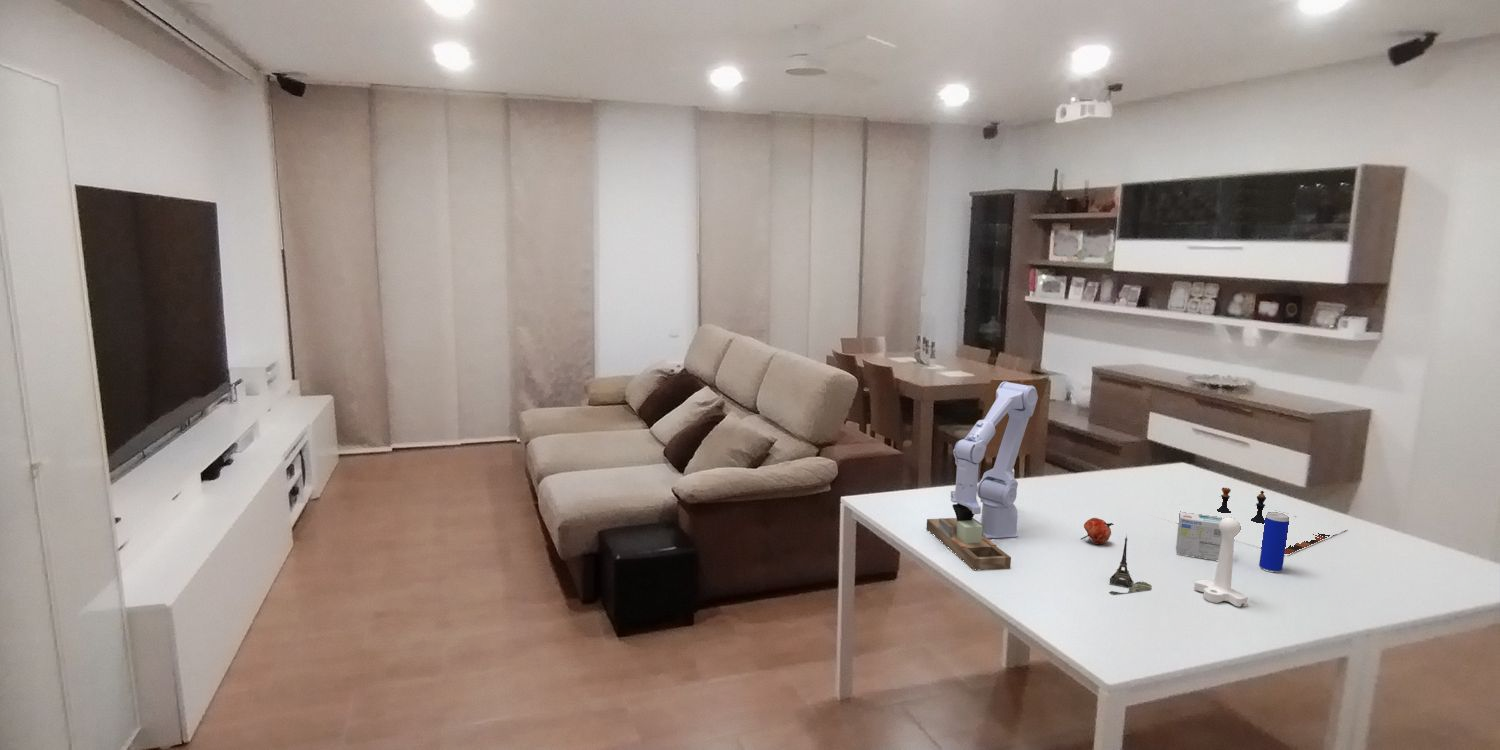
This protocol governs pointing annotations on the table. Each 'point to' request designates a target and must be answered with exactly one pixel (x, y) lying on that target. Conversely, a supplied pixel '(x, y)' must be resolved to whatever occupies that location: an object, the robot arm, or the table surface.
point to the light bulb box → (1199, 535)
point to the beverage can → (1274, 541)
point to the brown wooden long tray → (969, 546)
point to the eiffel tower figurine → (1127, 578)
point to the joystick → (1223, 569)
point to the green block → (969, 531)
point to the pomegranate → (1098, 530)
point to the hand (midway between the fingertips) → (963, 530)
